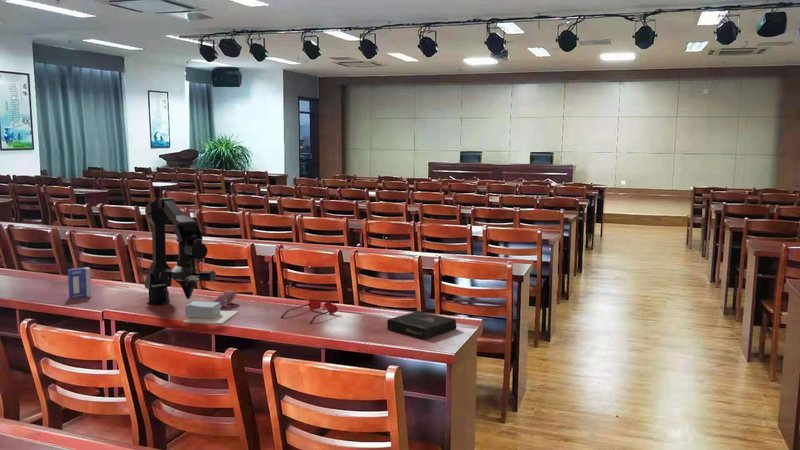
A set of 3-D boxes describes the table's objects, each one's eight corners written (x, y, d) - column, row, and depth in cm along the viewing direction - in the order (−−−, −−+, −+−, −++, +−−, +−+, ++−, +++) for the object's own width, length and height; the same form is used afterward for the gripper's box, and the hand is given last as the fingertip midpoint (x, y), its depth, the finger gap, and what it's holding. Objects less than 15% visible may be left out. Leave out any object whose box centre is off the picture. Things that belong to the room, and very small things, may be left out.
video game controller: (219, 312, 238) (225, 296, 236) (209, 306, 239) (216, 290, 237) (233, 306, 247) (240, 291, 245) (224, 300, 248) (231, 285, 246)
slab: (185, 306, 221) (212, 307, 220) (193, 301, 228) (220, 302, 227) (185, 317, 222) (212, 318, 221) (193, 312, 229) (220, 313, 228)
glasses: (339, 315, 231) (339, 302, 231) (310, 325, 217) (309, 311, 217) (309, 310, 239) (309, 297, 238) (280, 319, 225) (279, 305, 224)
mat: (182, 322, 217) (182, 321, 217) (202, 311, 233) (201, 309, 233) (221, 324, 216) (221, 322, 216) (238, 312, 232) (238, 311, 232)
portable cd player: (456, 330, 214) (456, 319, 213) (424, 341, 201) (424, 329, 201) (419, 321, 225) (419, 310, 224) (387, 331, 212) (387, 319, 212)
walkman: (71, 299, 249) (69, 269, 247) (69, 298, 251) (67, 268, 249) (92, 296, 254) (90, 267, 253) (89, 295, 256) (88, 266, 255)
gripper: (151, 258, 216) (152, 303, 217) (203, 260, 214) (204, 304, 215) (166, 253, 227) (167, 295, 228) (215, 255, 225) (216, 297, 226)
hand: (188, 298), depth 224 cm, fingers closed
